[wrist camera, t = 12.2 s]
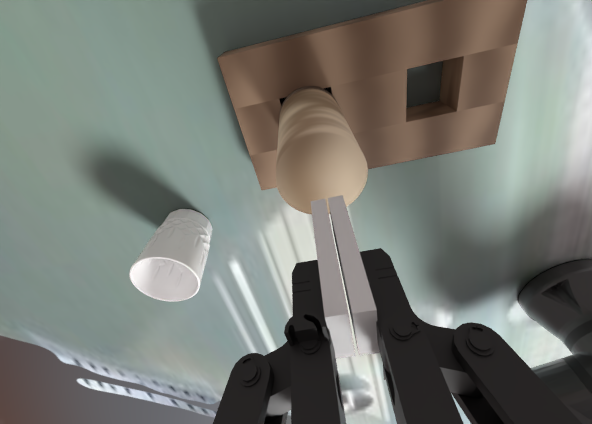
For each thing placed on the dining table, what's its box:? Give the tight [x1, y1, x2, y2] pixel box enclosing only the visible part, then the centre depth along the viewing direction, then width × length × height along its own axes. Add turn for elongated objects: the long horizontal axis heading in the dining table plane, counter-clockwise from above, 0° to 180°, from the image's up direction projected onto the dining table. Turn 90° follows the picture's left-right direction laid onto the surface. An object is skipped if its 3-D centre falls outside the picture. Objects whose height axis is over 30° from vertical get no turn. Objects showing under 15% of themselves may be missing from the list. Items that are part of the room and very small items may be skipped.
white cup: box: [130, 209, 213, 301], centre depth 37 cm, size 8×8×10 cm
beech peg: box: [276, 86, 368, 214], centre depth 25 cm, size 6×6×16 cm
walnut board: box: [217, 0, 527, 190], centre depth 29 cm, size 26×14×4 cm, turn 102°
